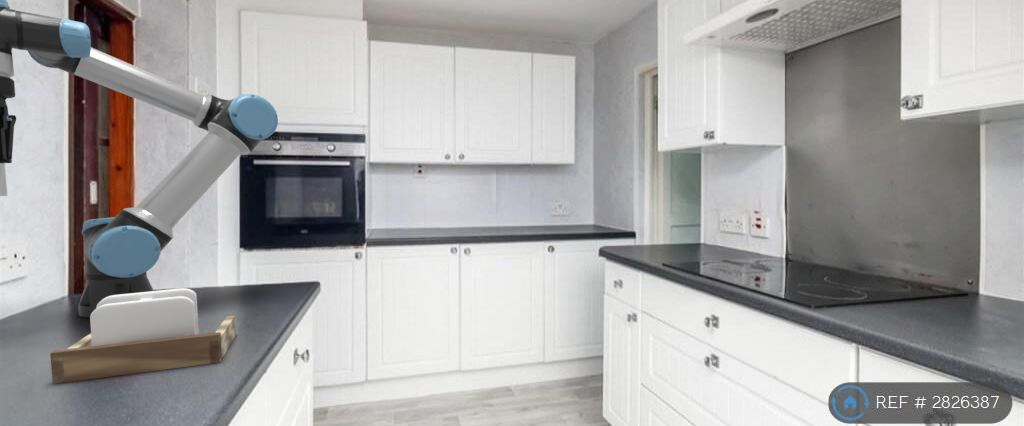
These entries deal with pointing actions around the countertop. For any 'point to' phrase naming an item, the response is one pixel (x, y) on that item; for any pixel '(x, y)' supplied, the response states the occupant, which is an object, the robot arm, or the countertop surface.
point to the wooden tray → (140, 355)
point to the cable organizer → (144, 316)
